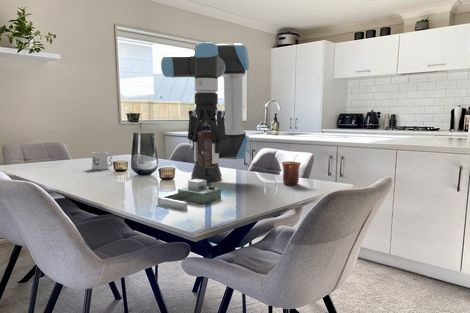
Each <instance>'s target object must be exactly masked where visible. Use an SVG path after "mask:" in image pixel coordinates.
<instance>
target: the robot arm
mask: <svg viewBox="0 0 470 313" xmlns="http://www.w3.org/2000/svg"><path fill="white" fill-rule="evenodd" d="M247 49H248V48H247V47H246V45H245V44H243V43H236V42H235V43H213V42H198V43H197V42H196V44H194V49H193V50H192V51H190V52H189V51H188V52H186V53H181V54H177V55H165V56H163V57H162V58H161V62H160V66H161V67H160V68H161V72H162V76H164V77H165V78H172V79H173V78H194V91H195V93H194V104H195V109H193V110H188V113H187V114H188V117H189V120H188V129H187V130H188V132H187V140H189V141H191V142H192V151H193V153H194V154H193V155H194V156H193V162H194V166H193V169H192V172H191V176H190V178H191V179H190V180H194V179H201V180H207V183H208V182H216V181H220V180H222V179H223V178H222V173H221V169H220V165H219V163H220V160H221V159H224V160H226V159H227V160H244V159H245V158H246V157H247V153H248V149H249V141H250V140H249V139H250V136H249V135H246V133H247V132H246V131H245V129H244V128H243V78H244V76H246V71H249V69H250V63H249V54H248V50H247ZM221 77H223V99H224V100H223V102H224V104H223V106H224V110H219V109H218V106H217V105H218V102H219V100H218V99H219V94H218V93H217V92H218V91H219V78H221ZM205 123H207V124H208V126H209V131H211V133H212V137H213V140H214V142H213V144H212V163H213V164H215V167H212V168H203V167H201V166H199V165H198V131H203V127H204V125H205Z"/></svg>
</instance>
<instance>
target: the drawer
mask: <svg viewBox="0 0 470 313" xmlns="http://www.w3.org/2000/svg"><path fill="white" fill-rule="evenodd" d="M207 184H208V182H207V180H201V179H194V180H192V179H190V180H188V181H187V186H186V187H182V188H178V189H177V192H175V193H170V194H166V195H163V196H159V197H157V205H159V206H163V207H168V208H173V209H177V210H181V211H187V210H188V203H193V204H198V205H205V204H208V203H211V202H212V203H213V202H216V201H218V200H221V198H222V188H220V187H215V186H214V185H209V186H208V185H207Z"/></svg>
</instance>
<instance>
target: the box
mask: <svg viewBox="0 0 470 313" xmlns="http://www.w3.org/2000/svg"><path fill="white" fill-rule="evenodd" d="M213 142H214V140H213V137H212V133H211V130H210V129H208V130H203V129H202V131H198V165H199V166H201V167H203V168H212V167H215V164H213V163H212V144H213Z"/></svg>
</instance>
